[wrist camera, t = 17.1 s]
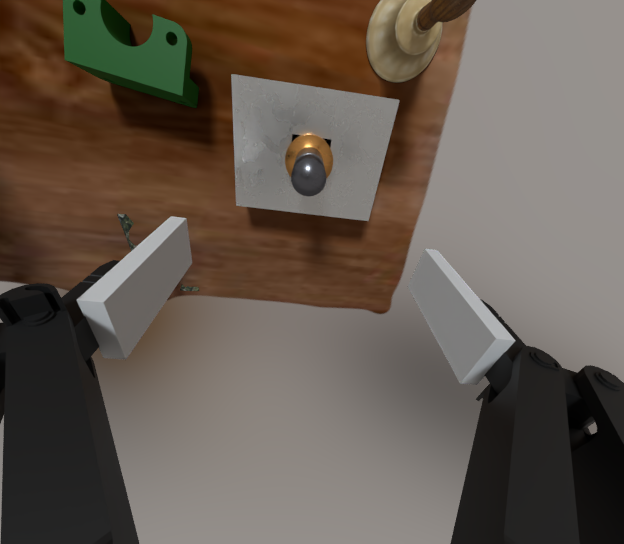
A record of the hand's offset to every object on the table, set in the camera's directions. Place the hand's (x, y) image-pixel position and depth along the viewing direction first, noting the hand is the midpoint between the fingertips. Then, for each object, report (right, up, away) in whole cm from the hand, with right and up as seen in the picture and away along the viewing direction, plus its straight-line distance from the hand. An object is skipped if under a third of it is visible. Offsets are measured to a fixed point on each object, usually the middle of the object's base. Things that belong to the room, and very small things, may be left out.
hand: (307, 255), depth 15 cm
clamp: (-18, +24, +16) cm, 34 cm away
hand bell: (+10, +26, +14) cm, 31 cm away
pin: (0, +15, +21) cm, 26 cm away
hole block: (0, +16, +21) cm, 26 cm away
